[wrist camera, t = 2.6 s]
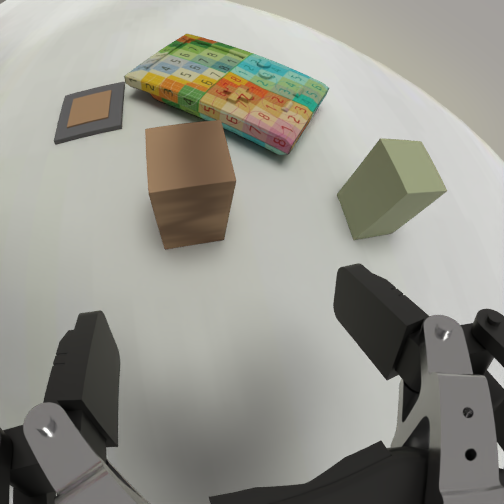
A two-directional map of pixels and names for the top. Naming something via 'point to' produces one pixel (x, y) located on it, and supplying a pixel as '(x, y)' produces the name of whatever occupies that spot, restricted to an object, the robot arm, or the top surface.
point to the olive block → (389, 188)
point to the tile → (91, 112)
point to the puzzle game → (232, 90)
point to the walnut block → (190, 182)
